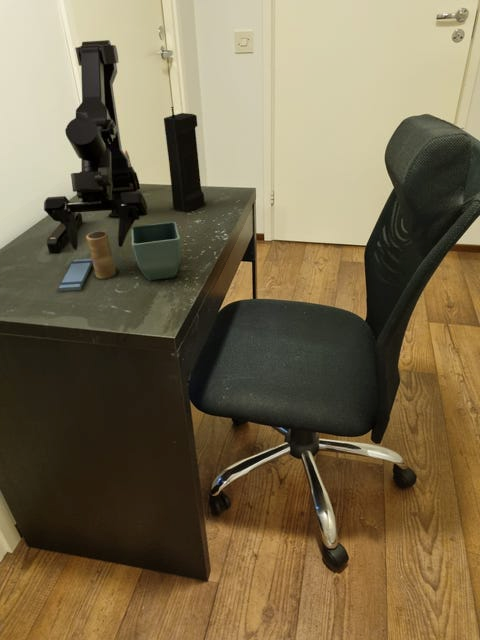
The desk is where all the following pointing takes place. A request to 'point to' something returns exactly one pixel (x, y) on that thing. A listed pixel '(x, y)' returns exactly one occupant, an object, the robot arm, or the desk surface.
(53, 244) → the black rectangular bar
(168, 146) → the portable radio
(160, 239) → the flower pot
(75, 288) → the light blue flat block
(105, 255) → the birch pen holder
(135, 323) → the desk surface
